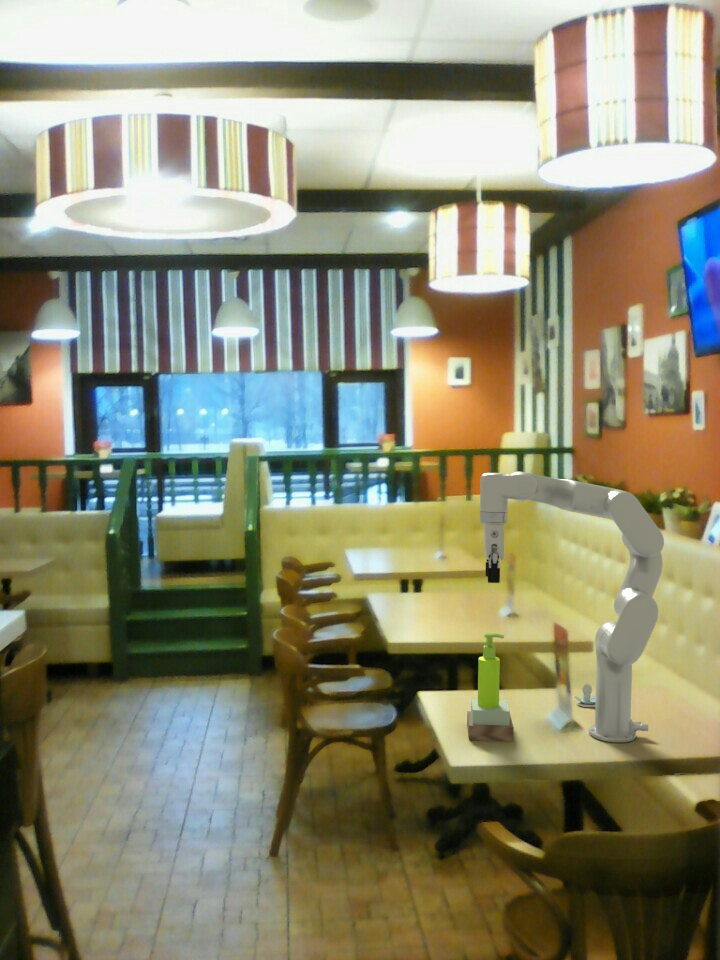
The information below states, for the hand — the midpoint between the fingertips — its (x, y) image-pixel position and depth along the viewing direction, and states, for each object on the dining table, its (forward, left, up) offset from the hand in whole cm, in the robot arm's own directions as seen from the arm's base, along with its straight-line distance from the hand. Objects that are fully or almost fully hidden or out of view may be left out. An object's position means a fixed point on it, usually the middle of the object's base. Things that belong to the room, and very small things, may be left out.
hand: (492, 579), depth 241 cm
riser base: (0, 0, -43) cm, 43 cm away
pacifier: (-32, -28, -44) cm, 61 cm away
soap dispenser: (0, 0, -36) cm, 36 cm away
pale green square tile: (0, 0, -39) cm, 39 cm away
